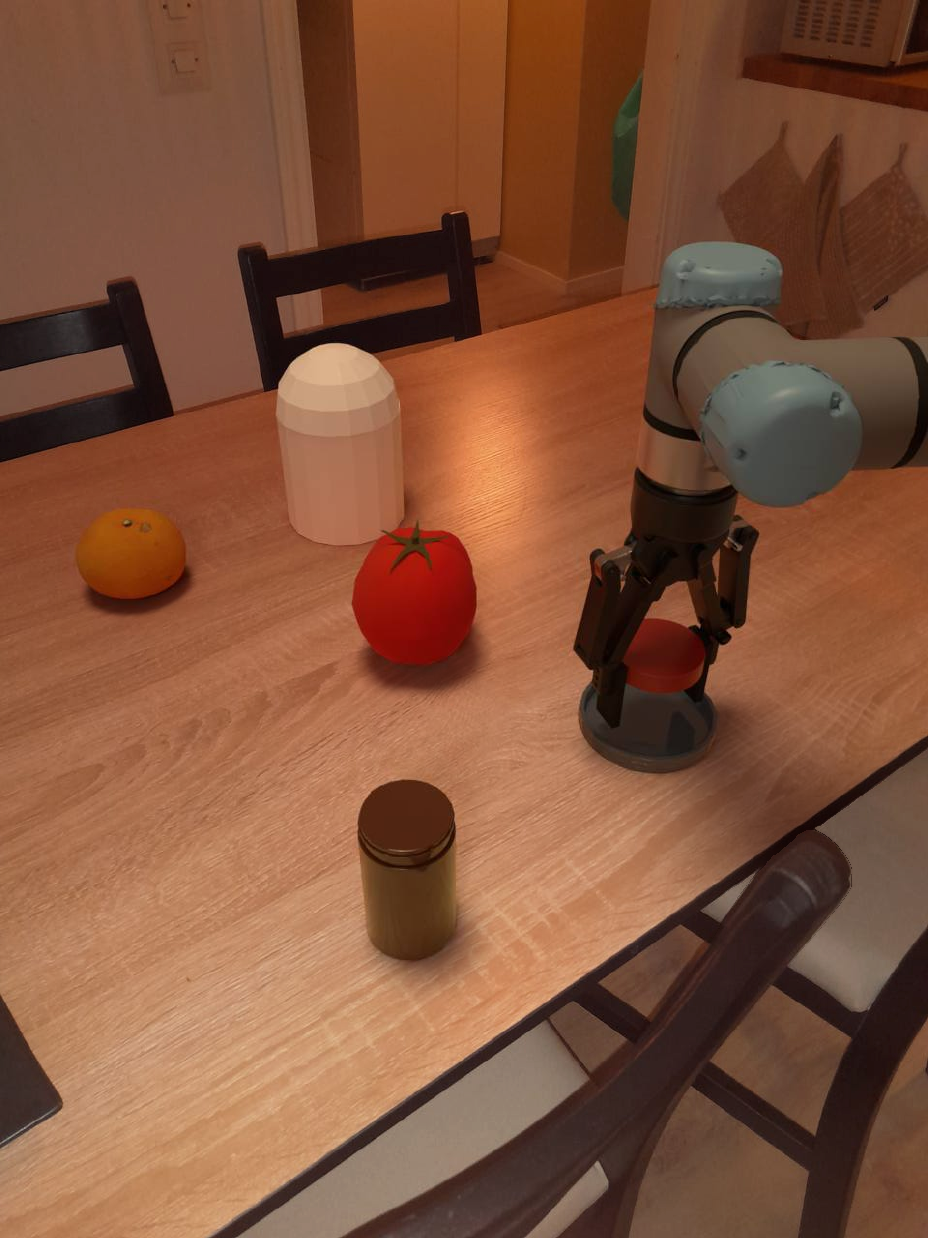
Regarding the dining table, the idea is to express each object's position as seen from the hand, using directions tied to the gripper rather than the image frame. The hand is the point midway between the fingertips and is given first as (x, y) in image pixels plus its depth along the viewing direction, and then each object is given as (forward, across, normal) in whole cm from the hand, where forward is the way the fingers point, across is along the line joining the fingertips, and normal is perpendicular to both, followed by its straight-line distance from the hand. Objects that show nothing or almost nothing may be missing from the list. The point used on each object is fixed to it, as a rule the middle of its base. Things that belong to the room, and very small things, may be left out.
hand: (649, 704), depth 83 cm
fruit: (+2, -38, +38) cm, 54 cm away
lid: (-6, 0, 0) cm, 6 cm away
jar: (+2, -26, -11) cm, 28 cm away
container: (+2, -14, +43) cm, 45 cm away
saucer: (+2, 0, 0) cm, 2 cm away
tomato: (+2, -15, +17) cm, 23 cm away
